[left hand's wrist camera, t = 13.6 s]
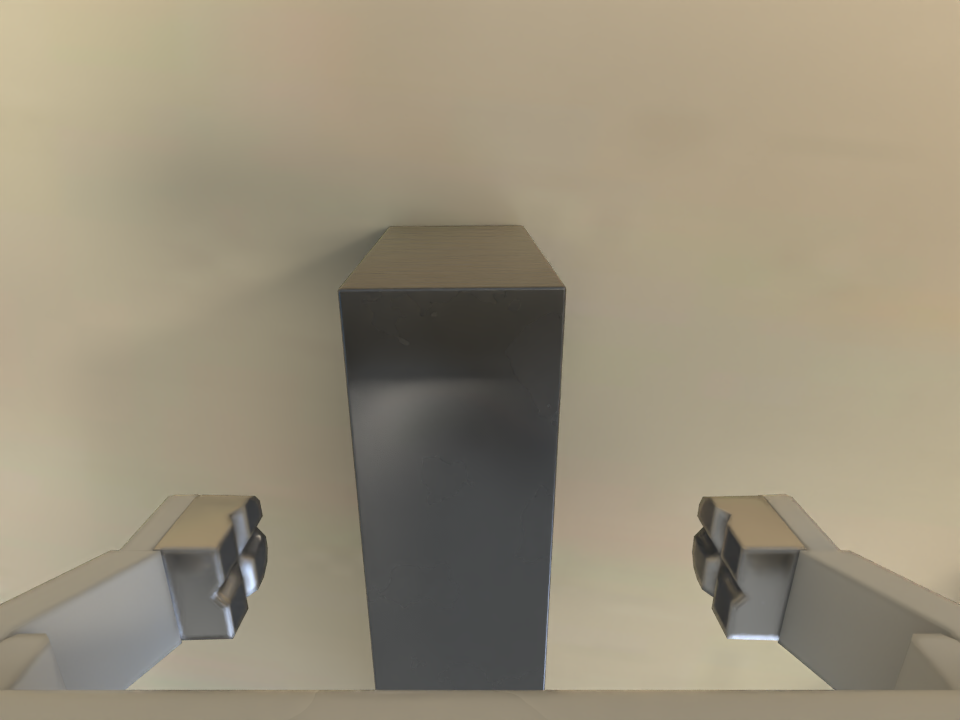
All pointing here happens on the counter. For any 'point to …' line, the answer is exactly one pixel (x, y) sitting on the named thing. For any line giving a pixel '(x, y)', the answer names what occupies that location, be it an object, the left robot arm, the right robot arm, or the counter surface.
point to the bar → (455, 452)
